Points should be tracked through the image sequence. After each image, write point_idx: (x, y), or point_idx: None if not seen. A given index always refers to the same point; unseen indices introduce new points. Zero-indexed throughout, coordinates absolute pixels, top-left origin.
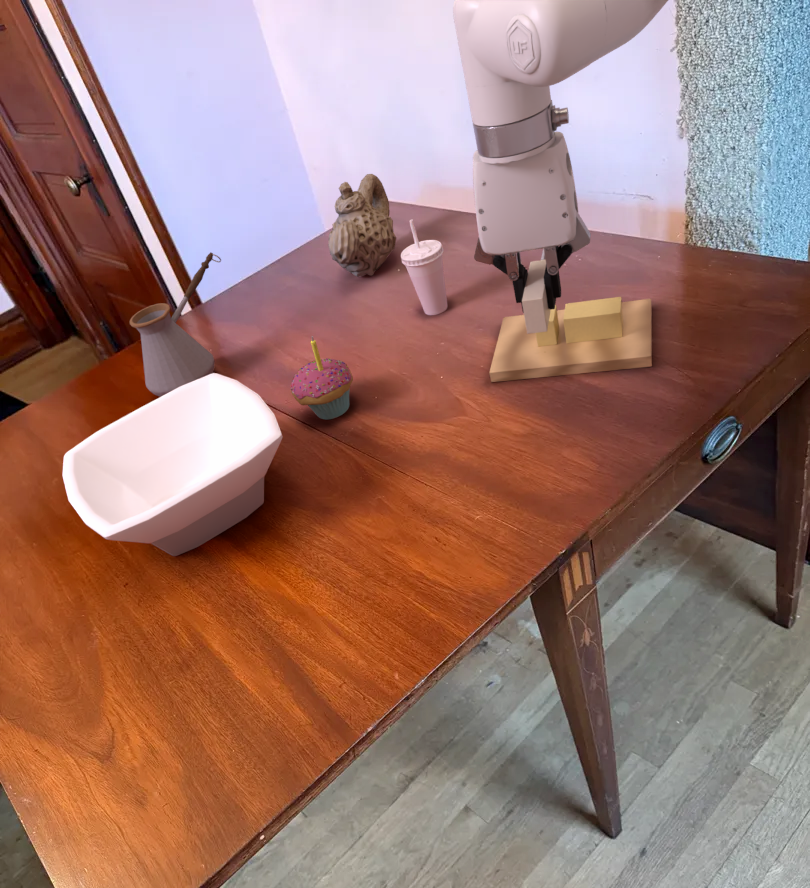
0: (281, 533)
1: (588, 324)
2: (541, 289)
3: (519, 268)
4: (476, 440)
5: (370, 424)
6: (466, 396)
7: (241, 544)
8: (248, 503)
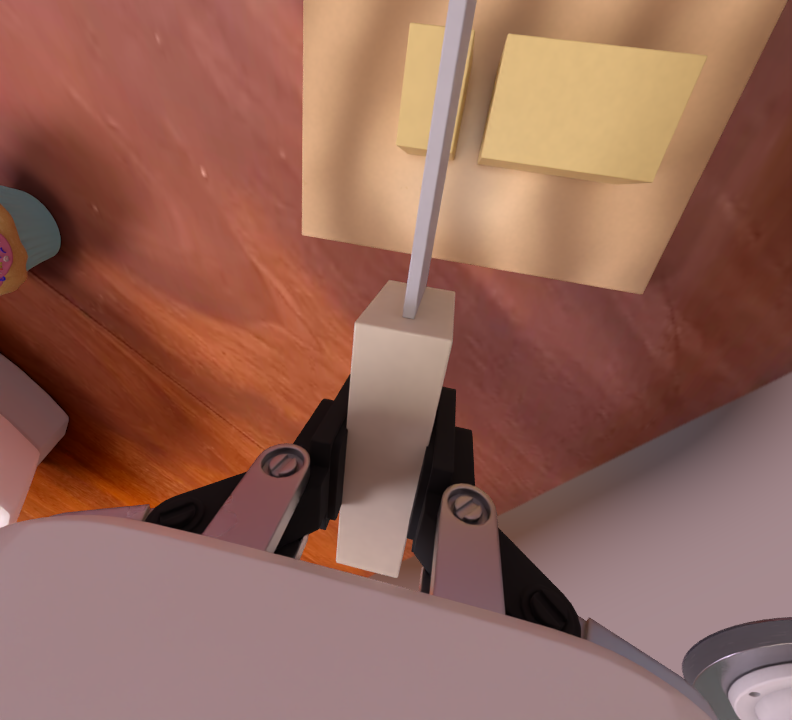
0: (122, 463)
1: (547, 170)
2: (397, 540)
3: (303, 524)
4: (308, 388)
5: (126, 294)
6: (271, 265)
7: (87, 464)
8: (52, 446)
